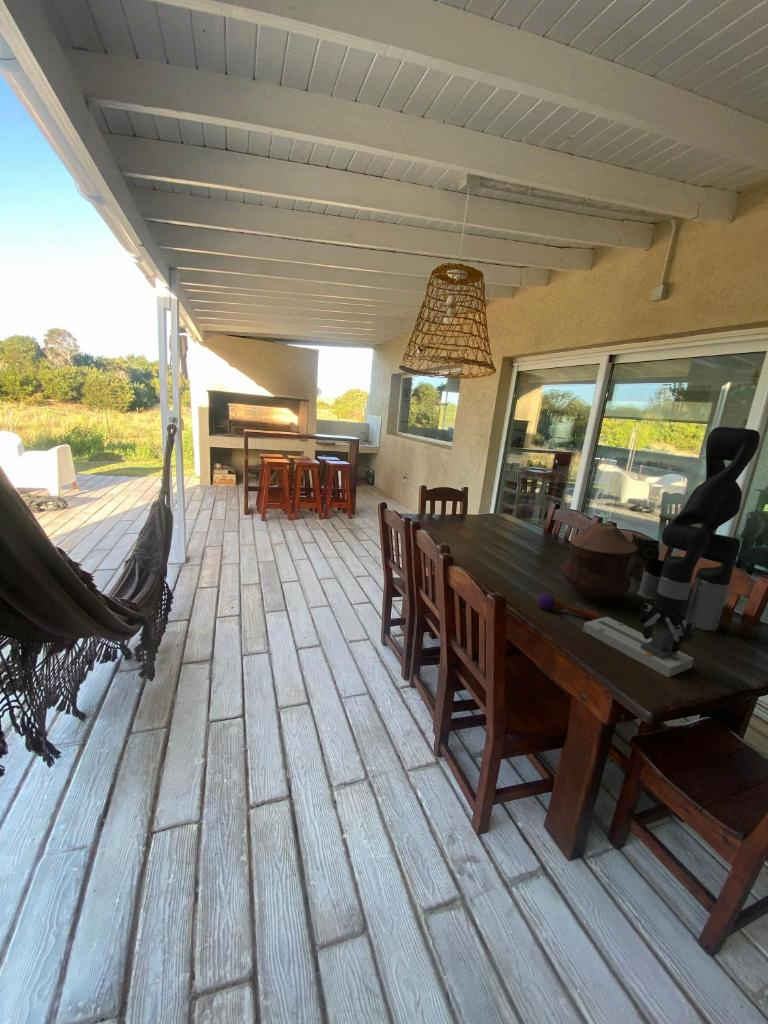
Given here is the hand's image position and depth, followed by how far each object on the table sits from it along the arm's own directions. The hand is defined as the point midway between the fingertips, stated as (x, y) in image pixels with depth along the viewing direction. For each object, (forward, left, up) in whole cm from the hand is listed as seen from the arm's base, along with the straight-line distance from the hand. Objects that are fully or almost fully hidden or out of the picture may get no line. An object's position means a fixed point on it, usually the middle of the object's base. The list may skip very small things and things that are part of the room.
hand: (660, 644), depth 120 cm
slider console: (0, -7, -5) cm, 9 cm away
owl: (-67, -43, -5) cm, 80 cm away
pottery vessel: (-24, -39, -5) cm, 46 cm away
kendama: (0, -32, -6) cm, 32 cm away
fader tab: (0, 0, -2) cm, 2 cm away
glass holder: (-48, -27, -5) cm, 55 cm away
